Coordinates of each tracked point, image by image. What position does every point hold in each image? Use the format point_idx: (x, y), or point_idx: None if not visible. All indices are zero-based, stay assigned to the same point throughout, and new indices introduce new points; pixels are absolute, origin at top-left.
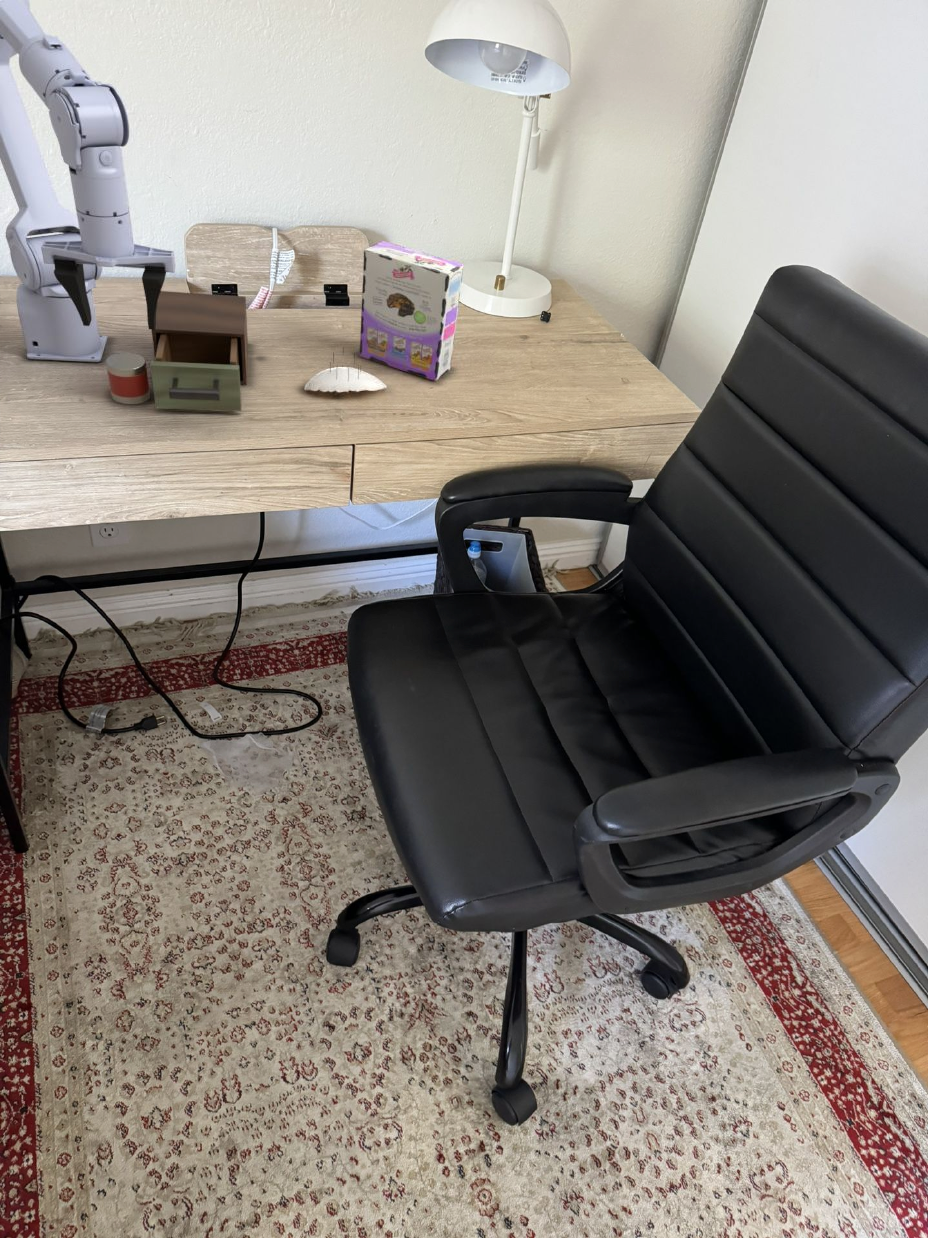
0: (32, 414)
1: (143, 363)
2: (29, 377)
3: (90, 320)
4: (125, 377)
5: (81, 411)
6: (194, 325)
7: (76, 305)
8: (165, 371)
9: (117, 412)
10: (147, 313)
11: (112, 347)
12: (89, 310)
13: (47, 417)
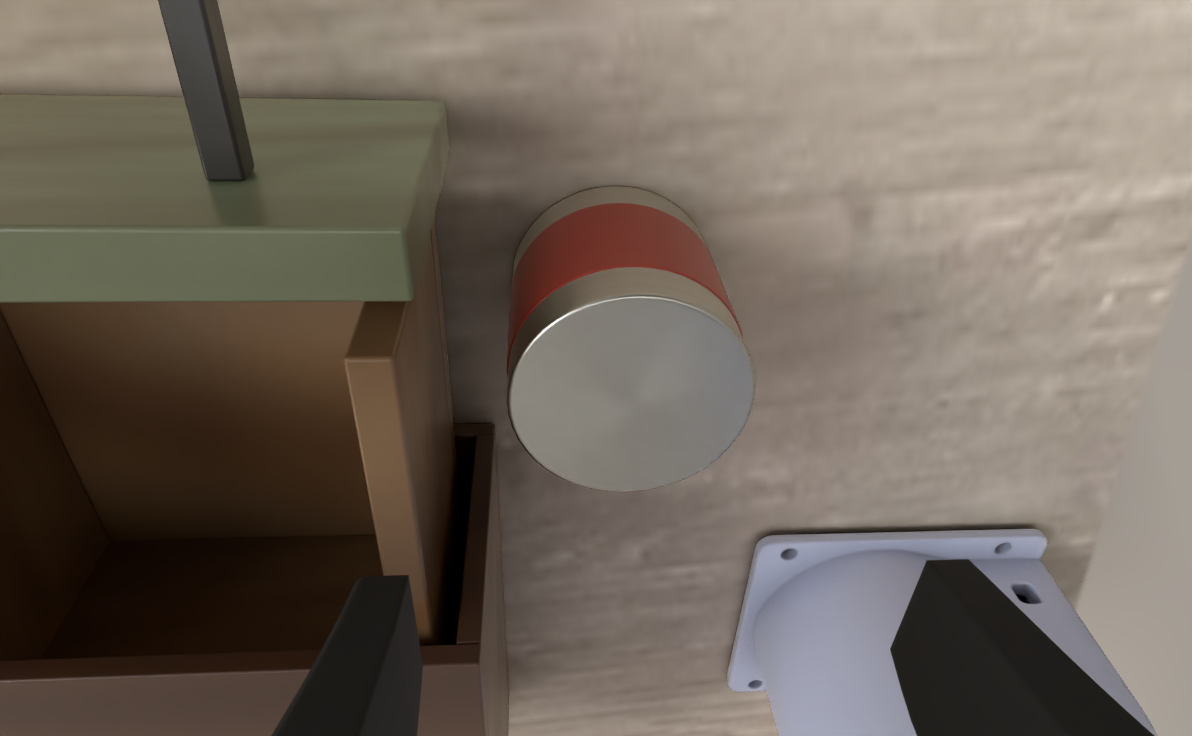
0: (1141, 40)
1: (516, 382)
2: (1063, 402)
3: (908, 625)
4: (629, 263)
5: (874, 91)
6: (220, 726)
7: (1130, 723)
8: (288, 202)
9: (676, 90)
10: (363, 714)
11: (707, 634)
12: (929, 714)
13: (1069, 5)
